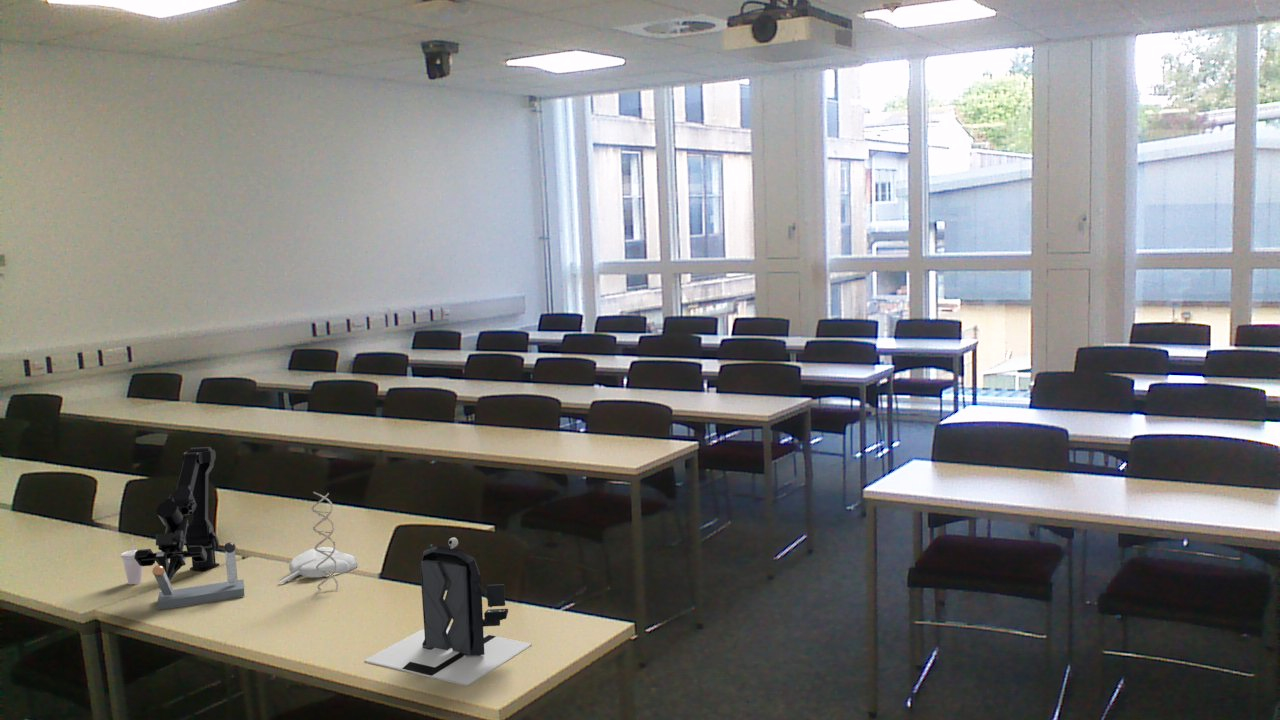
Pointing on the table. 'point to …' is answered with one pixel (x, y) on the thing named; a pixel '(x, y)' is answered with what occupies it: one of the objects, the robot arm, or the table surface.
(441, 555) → the slab on white base
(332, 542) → the dna model
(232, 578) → the beige grey bar
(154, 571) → the copper knob rod
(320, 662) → the table surface
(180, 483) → the robot arm
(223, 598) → the switch board
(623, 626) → the table surface
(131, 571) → the smoothie
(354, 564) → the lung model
